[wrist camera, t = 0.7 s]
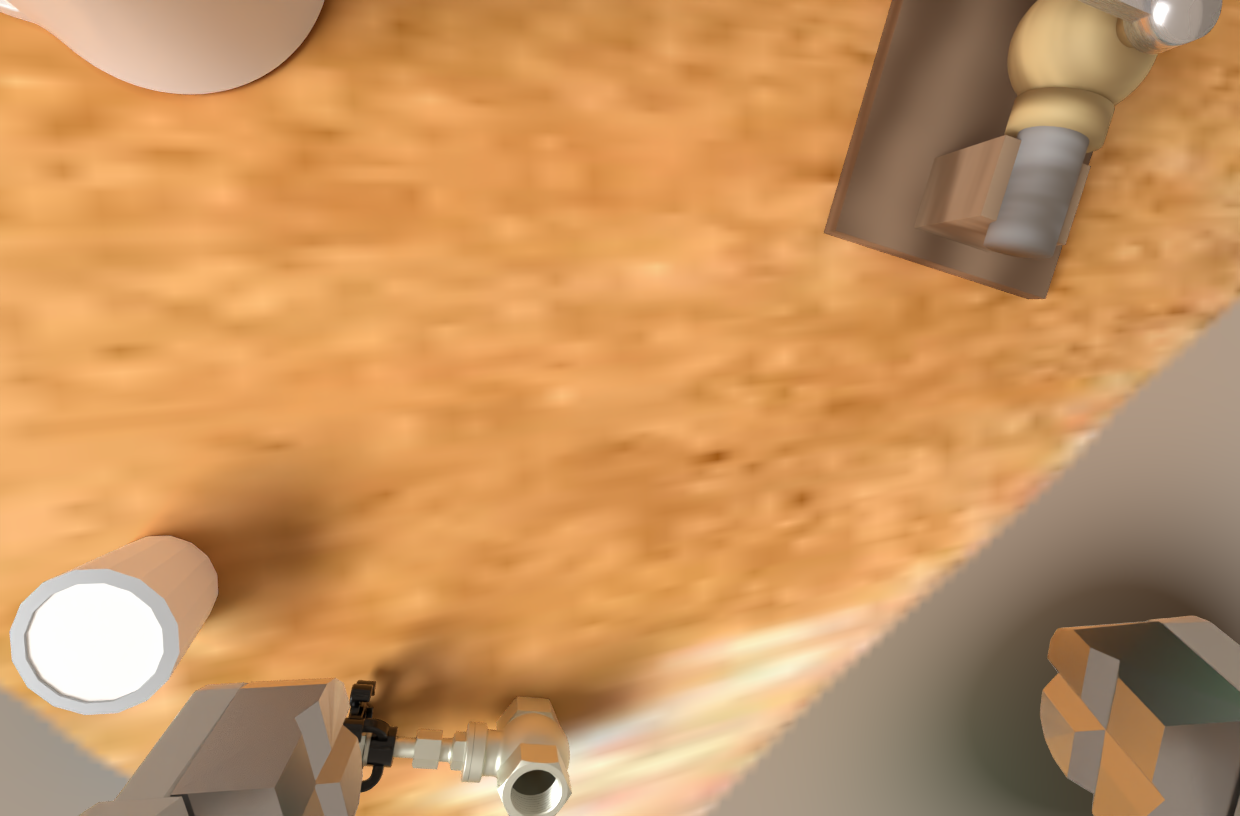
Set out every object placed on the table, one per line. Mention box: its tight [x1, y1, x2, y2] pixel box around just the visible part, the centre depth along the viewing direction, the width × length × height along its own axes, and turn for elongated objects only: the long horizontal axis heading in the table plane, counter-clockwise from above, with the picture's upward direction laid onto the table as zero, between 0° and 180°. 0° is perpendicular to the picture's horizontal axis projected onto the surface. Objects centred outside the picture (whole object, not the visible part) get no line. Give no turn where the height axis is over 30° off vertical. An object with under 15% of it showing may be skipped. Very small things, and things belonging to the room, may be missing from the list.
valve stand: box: [824, 0, 1157, 299], centre depth 39 cm, size 14×21×11 cm, turn 164°
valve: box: [343, 680, 572, 816], centre depth 41 cm, size 7×7×12 cm
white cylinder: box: [10, 536, 218, 715], centre depth 37 cm, size 7×7×7 cm
